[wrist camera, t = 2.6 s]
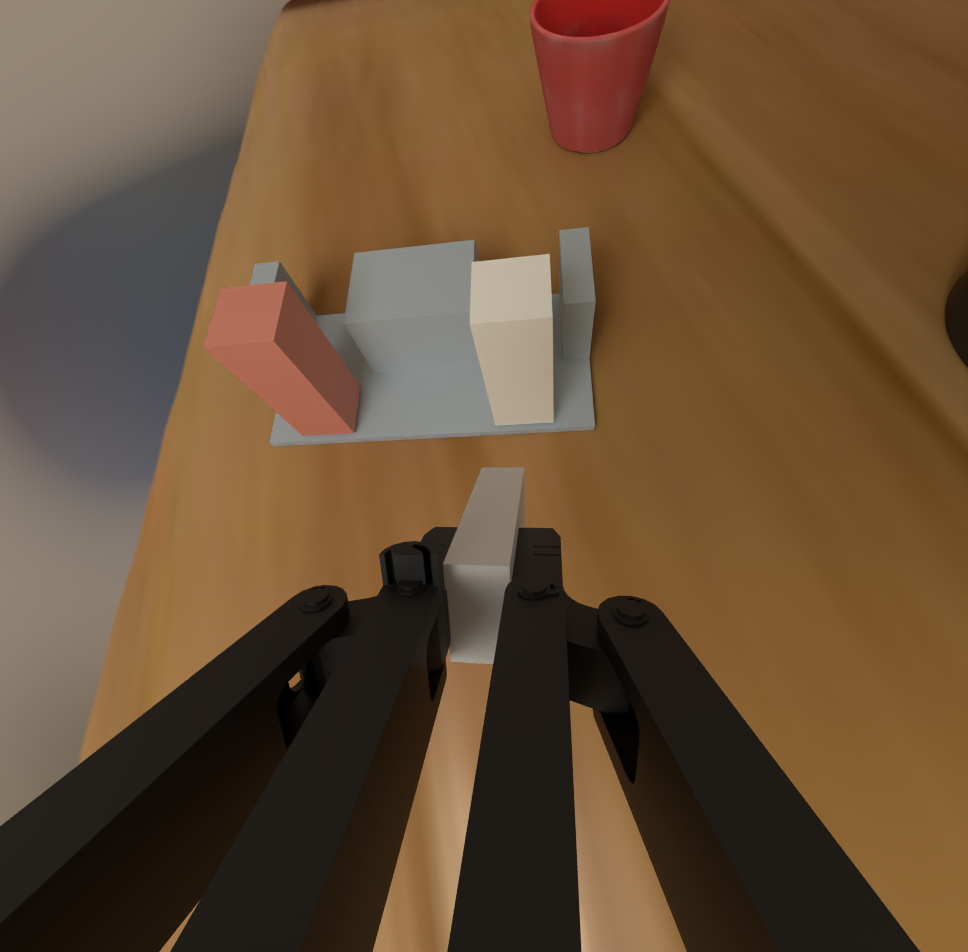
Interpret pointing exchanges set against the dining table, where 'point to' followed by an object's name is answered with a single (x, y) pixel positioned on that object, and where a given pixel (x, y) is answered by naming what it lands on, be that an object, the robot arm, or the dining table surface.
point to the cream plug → (514, 336)
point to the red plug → (284, 357)
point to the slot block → (441, 344)
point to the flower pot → (594, 65)
